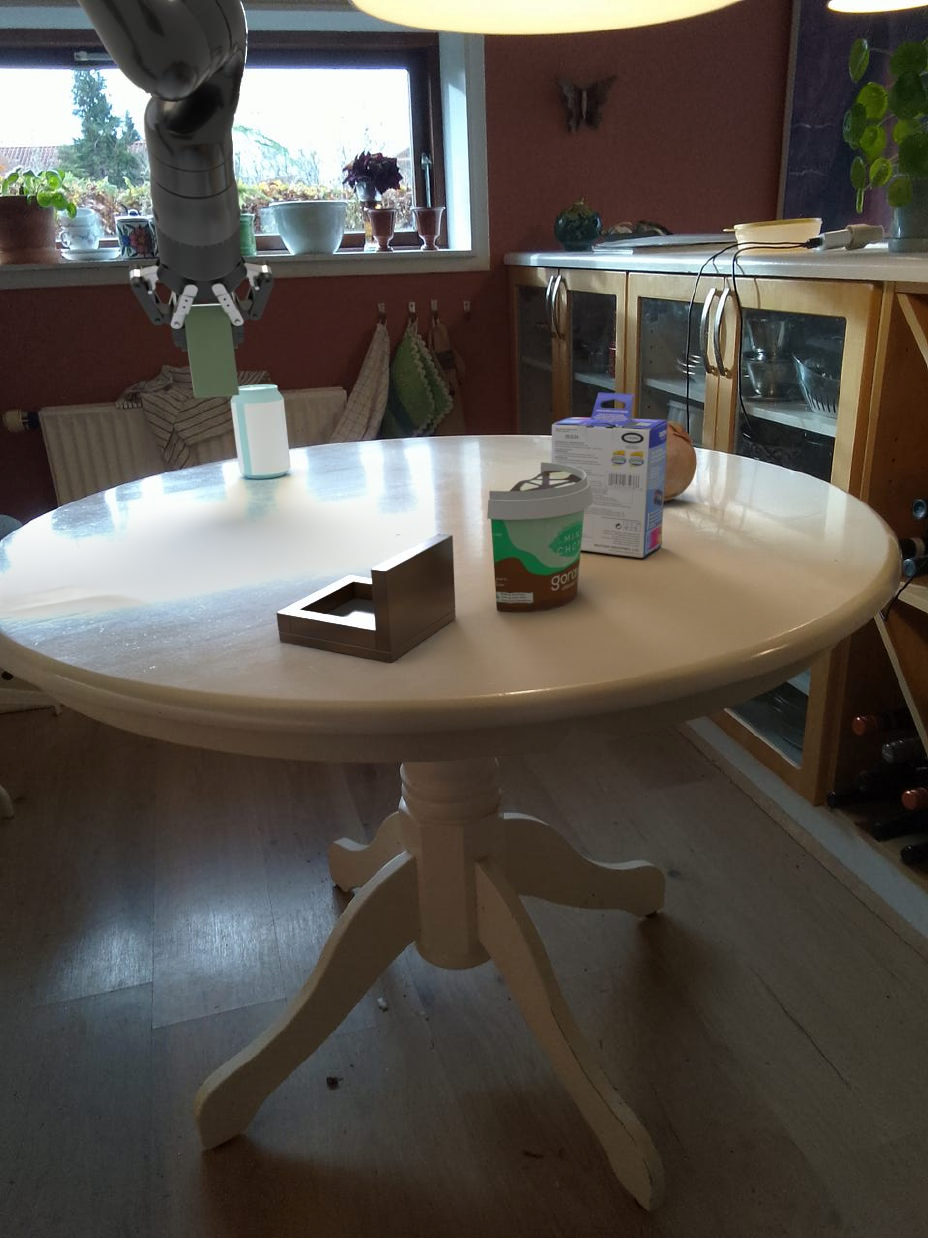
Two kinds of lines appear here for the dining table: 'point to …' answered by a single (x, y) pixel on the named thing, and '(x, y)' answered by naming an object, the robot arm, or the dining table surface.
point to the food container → (539, 538)
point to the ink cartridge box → (617, 475)
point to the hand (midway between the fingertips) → (208, 342)
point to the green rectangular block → (211, 351)
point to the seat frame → (379, 606)
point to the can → (260, 431)
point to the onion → (678, 461)
